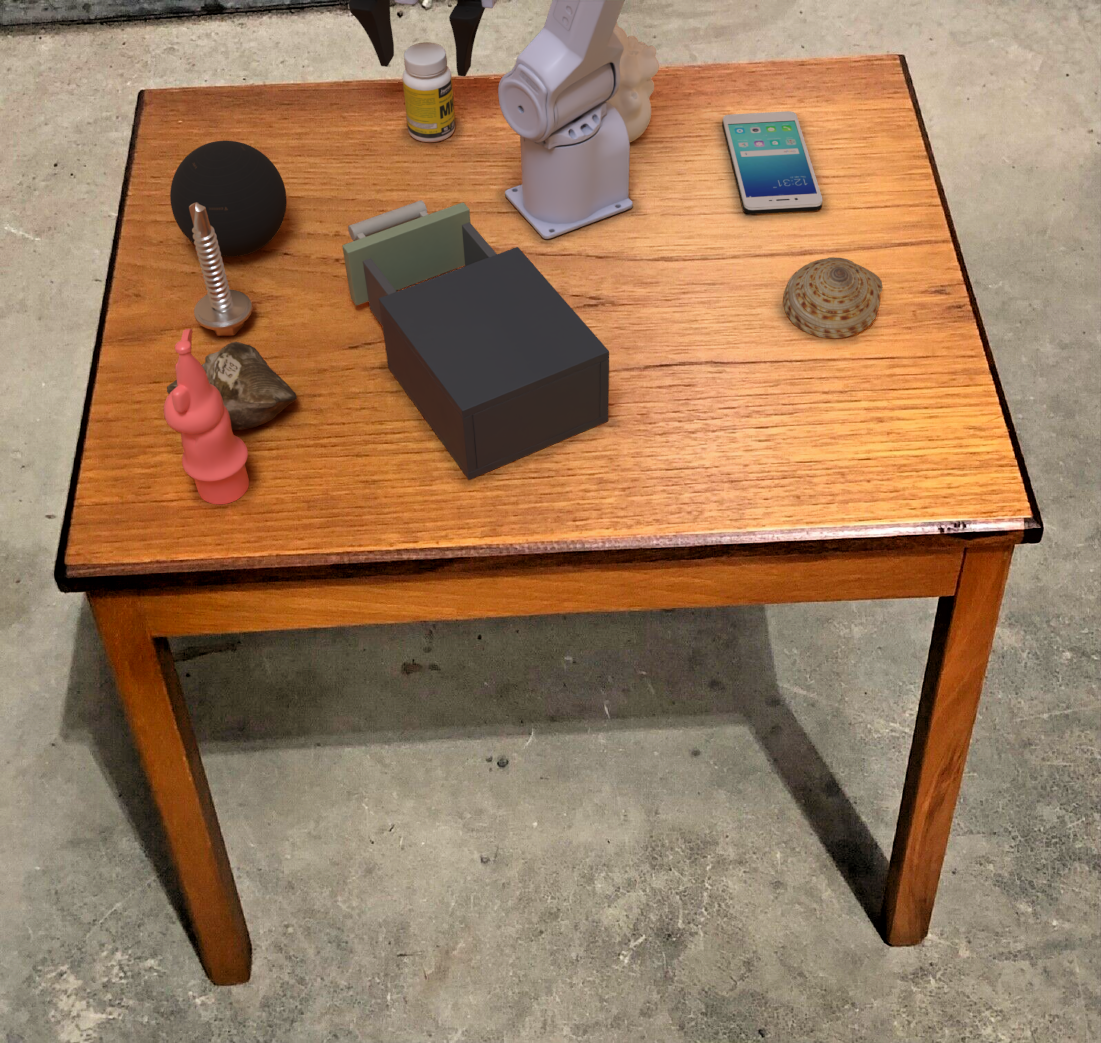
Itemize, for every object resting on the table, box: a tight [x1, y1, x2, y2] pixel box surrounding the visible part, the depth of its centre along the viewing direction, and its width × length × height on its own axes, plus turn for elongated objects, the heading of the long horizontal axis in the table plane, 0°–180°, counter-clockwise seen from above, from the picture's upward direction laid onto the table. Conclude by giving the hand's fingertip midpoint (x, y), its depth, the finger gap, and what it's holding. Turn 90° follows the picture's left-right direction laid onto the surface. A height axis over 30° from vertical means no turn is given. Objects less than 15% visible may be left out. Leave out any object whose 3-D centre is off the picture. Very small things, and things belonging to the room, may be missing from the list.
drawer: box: [342, 199, 498, 326], centre depth 121 cm, size 18×11×6 cm, turn 29°
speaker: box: [169, 140, 287, 258], centre depth 126 cm, size 10×10×10 cm
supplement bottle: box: [401, 41, 456, 143], centre depth 138 cm, size 5×5×8 cm
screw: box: [189, 202, 253, 337], centre depth 118 cm, size 13×5×5 cm
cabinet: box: [379, 246, 610, 481], centre depth 114 cm, size 15×13×8 cm
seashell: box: [782, 256, 883, 339], centre depth 122 cm, size 8×6×8 cm
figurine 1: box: [163, 328, 250, 505], centre depth 105 cm, size 5×5×15 cm
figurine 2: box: [606, 21, 660, 143], centre depth 135 cm, size 7×7×12 cm
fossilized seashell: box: [166, 341, 298, 431], centre depth 115 cm, size 8×7×10 cm
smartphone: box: [721, 110, 823, 215], centre depth 136 cm, size 8×1×15 cm
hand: (425, 65), depth 136 cm, fingers open, 7 cm apart
